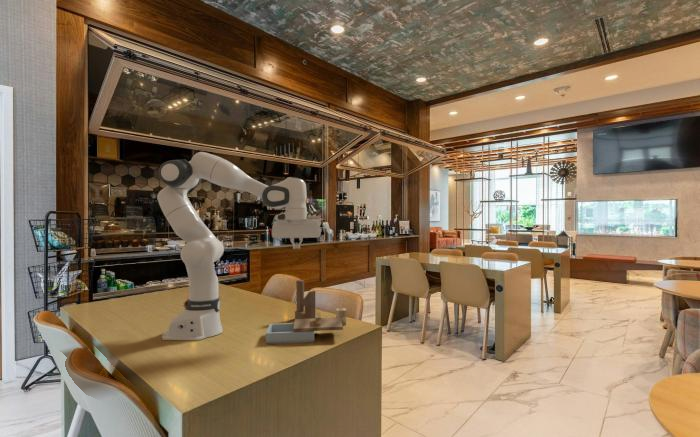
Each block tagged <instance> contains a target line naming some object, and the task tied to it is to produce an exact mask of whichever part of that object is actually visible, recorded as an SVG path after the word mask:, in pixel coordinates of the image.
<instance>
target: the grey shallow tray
mask: <svg viewBox="0 0 700 437" xmlns="http://www.w3.org/2000/svg"><path fill="white" fill-rule="evenodd" d="M293 329H294V322H287V323H285V322H283V323H281V322H280V323H269V325H268V327H267V330H266V332H265V344H266V345H277V344H280V345H281V344H296V343H297V344H298V343H299V344H300V343H301V344H303V343H315V331H304V332H293Z"/></svg>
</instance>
